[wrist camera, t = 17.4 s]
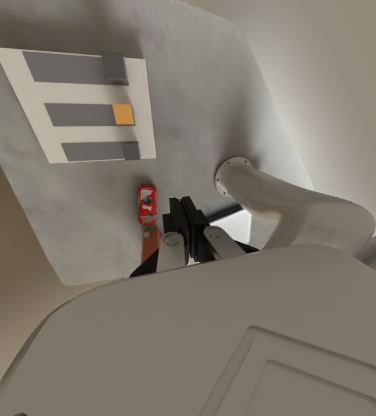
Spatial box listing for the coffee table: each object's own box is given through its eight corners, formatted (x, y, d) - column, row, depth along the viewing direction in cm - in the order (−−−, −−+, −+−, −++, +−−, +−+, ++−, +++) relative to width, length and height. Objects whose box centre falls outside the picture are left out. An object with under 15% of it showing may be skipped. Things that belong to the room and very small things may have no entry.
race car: (155, 221, 47) (155, 229, 44) (138, 221, 46) (137, 229, 42) (158, 184, 41) (158, 190, 38) (138, 182, 39) (137, 188, 36)
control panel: (155, 258, 55) (139, 230, 47) (172, 252, 55) (159, 223, 47) (158, 323, 37) (132, 296, 29) (183, 313, 37) (165, 284, 29)
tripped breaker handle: (132, 106, 28) (130, 104, 25) (135, 124, 30) (133, 124, 26) (116, 106, 27) (111, 103, 24) (120, 124, 29) (116, 124, 26)
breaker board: (145, 65, 28) (144, 51, 23) (155, 155, 37) (156, 161, 31) (9, 55, 24) (-32, 35, 18) (57, 160, 32) (39, 167, 27)
